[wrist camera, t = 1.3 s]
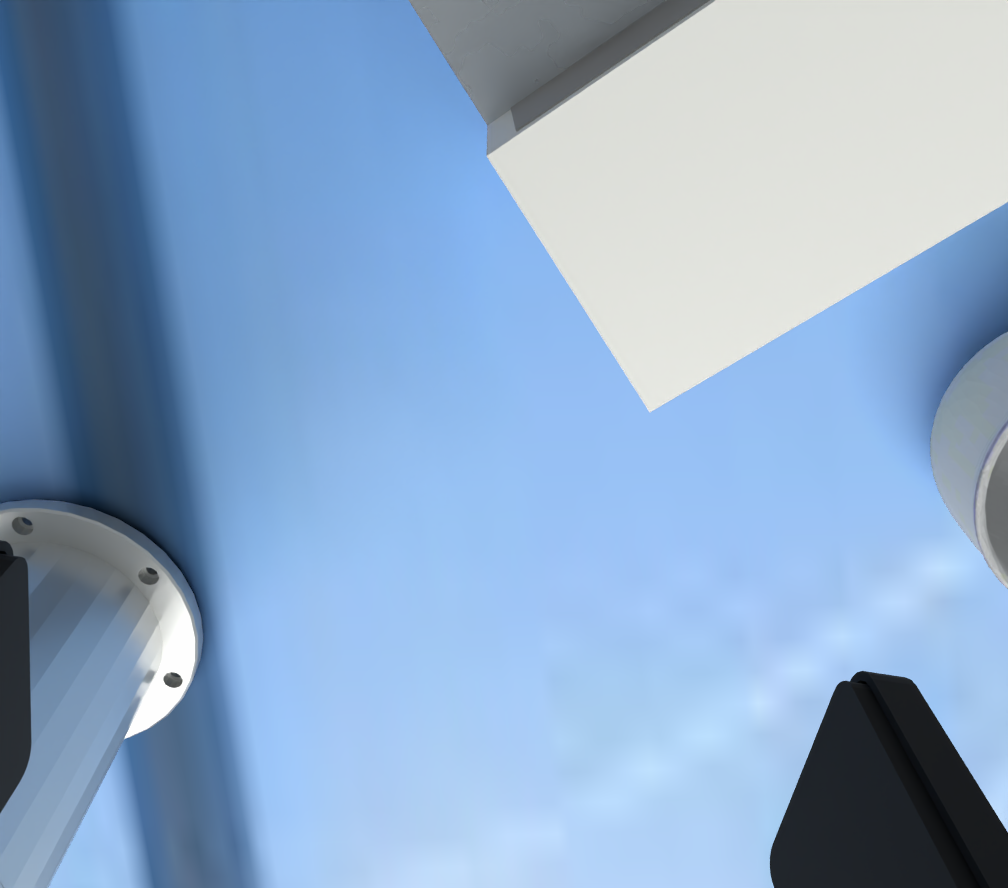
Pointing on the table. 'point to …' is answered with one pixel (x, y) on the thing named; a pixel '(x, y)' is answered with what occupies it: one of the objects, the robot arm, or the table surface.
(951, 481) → the teacup
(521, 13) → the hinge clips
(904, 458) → the table surface
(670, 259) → the cabinet
